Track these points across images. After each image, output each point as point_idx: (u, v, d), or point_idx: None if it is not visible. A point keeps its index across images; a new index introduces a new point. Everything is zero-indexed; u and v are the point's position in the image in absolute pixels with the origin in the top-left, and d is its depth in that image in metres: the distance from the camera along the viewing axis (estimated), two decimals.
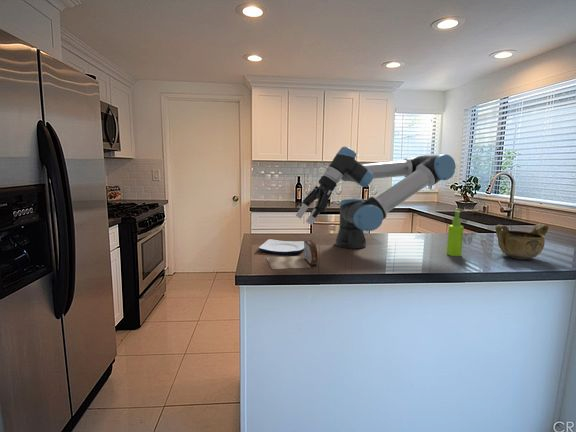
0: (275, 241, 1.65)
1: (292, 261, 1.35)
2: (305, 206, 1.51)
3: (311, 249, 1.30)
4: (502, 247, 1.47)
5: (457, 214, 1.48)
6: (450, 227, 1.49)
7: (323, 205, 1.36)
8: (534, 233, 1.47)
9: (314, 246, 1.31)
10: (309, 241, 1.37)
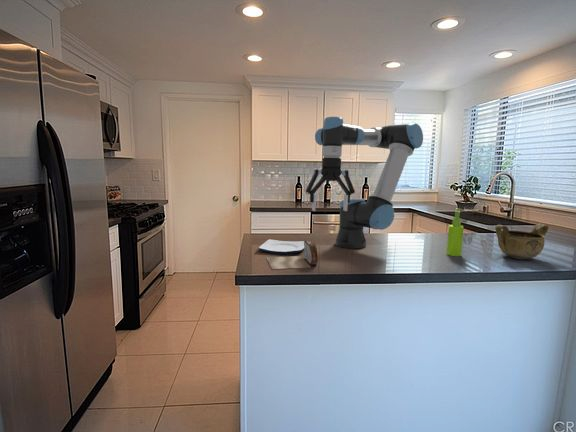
0: (275, 241, 1.65)
1: (292, 261, 1.35)
2: None
3: (311, 249, 1.30)
4: (502, 247, 1.47)
5: (457, 214, 1.48)
6: (450, 227, 1.49)
7: None
8: (534, 233, 1.47)
9: (314, 246, 1.31)
10: (309, 241, 1.37)
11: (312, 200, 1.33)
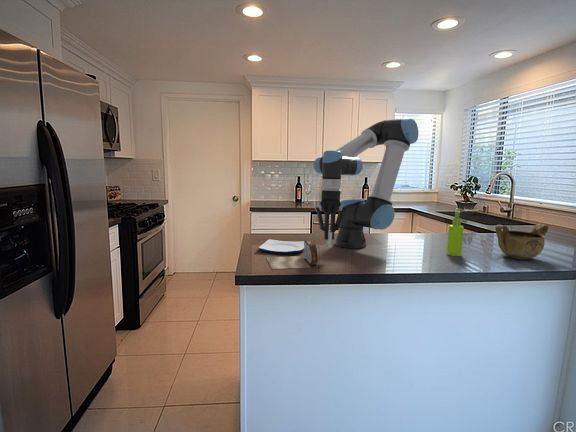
0: (275, 241, 1.65)
1: (292, 261, 1.35)
2: None
3: (311, 249, 1.30)
4: (502, 247, 1.47)
5: (457, 214, 1.48)
6: (450, 227, 1.49)
7: None
8: (534, 233, 1.47)
9: (314, 246, 1.31)
10: (309, 241, 1.37)
11: (326, 237, 1.36)
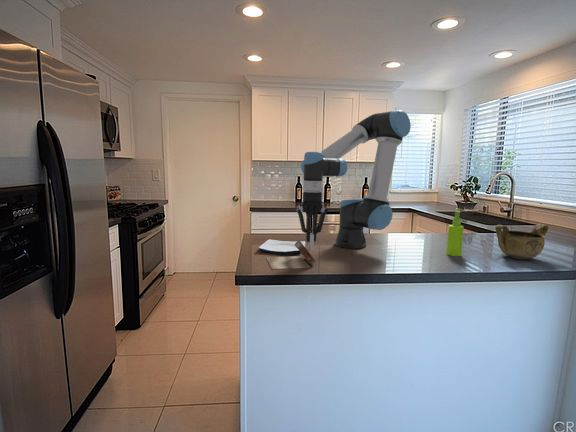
0: (275, 241, 1.65)
1: (292, 261, 1.35)
2: None
3: (302, 252, 1.29)
4: (502, 247, 1.47)
5: (457, 214, 1.48)
6: (450, 227, 1.49)
7: None
8: (534, 233, 1.47)
9: (303, 247, 1.30)
10: (298, 243, 1.36)
11: (308, 239, 1.34)
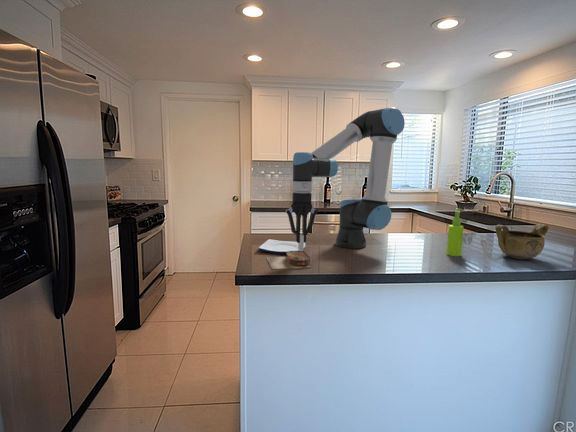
0: (275, 241, 1.65)
1: None
2: None
3: (293, 264, 1.29)
4: (502, 247, 1.47)
5: (457, 214, 1.48)
6: (450, 227, 1.49)
7: None
8: (534, 233, 1.47)
9: (291, 260, 1.30)
10: (287, 256, 1.37)
11: (298, 240, 1.34)
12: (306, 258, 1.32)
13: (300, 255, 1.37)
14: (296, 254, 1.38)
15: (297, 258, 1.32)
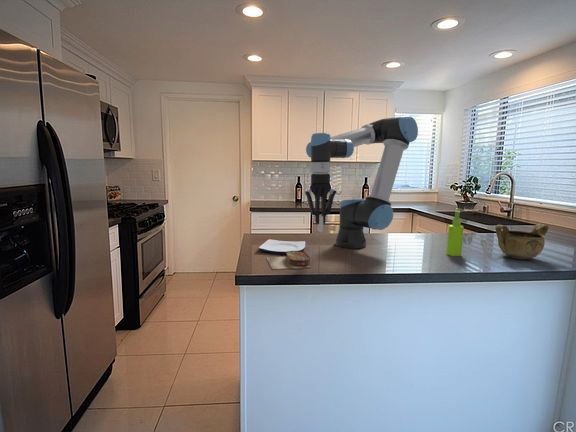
0: (275, 241, 1.65)
1: None
2: None
3: (293, 264, 1.29)
4: (502, 247, 1.47)
5: (457, 214, 1.48)
6: (450, 227, 1.49)
7: None
8: (534, 233, 1.47)
9: (291, 260, 1.30)
10: (287, 256, 1.37)
11: (318, 222, 1.34)
12: (306, 258, 1.32)
13: (300, 255, 1.37)
14: (296, 254, 1.38)
15: (297, 258, 1.32)
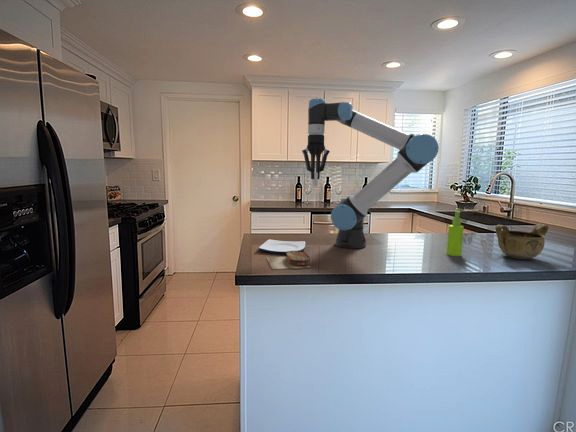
0: (275, 241, 1.65)
1: None
2: None
3: (293, 264, 1.29)
4: (502, 247, 1.47)
5: (457, 214, 1.48)
6: (450, 227, 1.49)
7: None
8: (534, 233, 1.47)
9: (291, 260, 1.30)
10: (287, 256, 1.37)
11: (313, 177, 1.54)
12: (306, 258, 1.32)
13: (300, 255, 1.37)
14: (296, 254, 1.38)
15: (297, 258, 1.32)
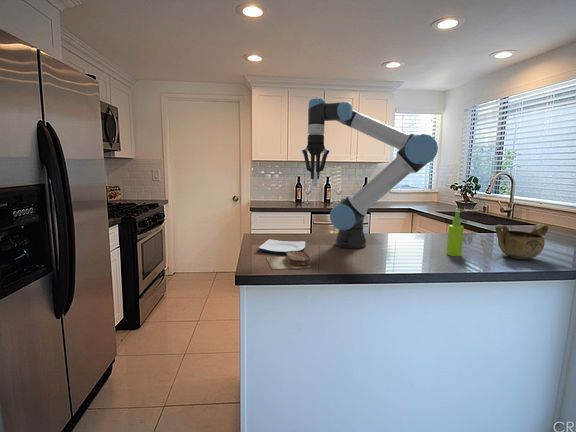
0: (275, 241, 1.65)
1: None
2: None
3: (293, 264, 1.29)
4: (502, 247, 1.47)
5: (457, 214, 1.48)
6: (450, 227, 1.49)
7: None
8: (534, 233, 1.47)
9: (291, 260, 1.30)
10: (287, 256, 1.37)
11: (312, 177, 1.55)
12: (306, 258, 1.32)
13: (300, 255, 1.37)
14: (296, 254, 1.38)
15: (297, 258, 1.32)
